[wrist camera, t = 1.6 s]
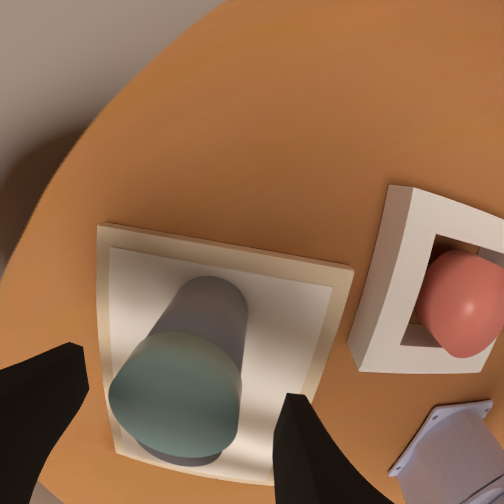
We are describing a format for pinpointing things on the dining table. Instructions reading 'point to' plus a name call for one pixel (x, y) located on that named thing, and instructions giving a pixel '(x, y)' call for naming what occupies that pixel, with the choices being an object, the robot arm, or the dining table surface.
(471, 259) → the button cap
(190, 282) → the grey teal cylinder
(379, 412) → the dining table surface
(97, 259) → the board
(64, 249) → the dining table surface
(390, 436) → the dining table surface
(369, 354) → the button housing
